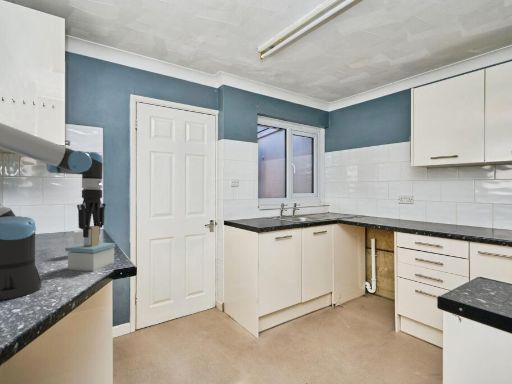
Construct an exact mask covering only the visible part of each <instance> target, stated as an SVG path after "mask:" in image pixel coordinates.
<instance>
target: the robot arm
mask: <svg viewBox="0 0 512 384" xmlns="http://www.w3.org/2000/svg"><path fill="white" fill-rule="evenodd" d="M0 149H1V150H4V151H7V152H10V153H13V154H16V155H19V156H22V157H25V158H29V159H32V160H35V161H38V162H41V163H45V165H46V166H45V167H46V170H47V172H48V173H51V174H58V175H59V174H60V175H61V174H63V175H64V174H65V175H67V174H68V175H81V188H82V190H81V198H82V199H83V200H82V203H81V204H77V205H76V207H77V212H78V216H77V217H78V219H77V220H78V221H77V222H78V229H80V230H83V237H84V245H91V229H89V228H90V226H91V221H92V222H93V226H99V236H100V234H101V228H102V229H103V226H104V225H105V209H106V203H102V201H101V199H102V198H103V190H102V188H103V171H104V170H103V169H104V168H103V165H104V162H103V155H102V154H101V153H100V152H94V151H82V150H73V149H71V148H68V147H66V146H63V145H61V144H58V143H55V142H52V141H49V140H47V139H45V138H42V137H40V136H37V135H33V134H31V133H30V132H29V133H28V132H25V131H23V130H21V129H18V128H15V127H12V126H9V125H6V124H5V123H2V122H0ZM36 231H37V226H36V221H35V220H34V219H33V218H31V217H27V216H16V214H15V213H14V212H13V210H12V208H10V207H8V206H7V207H6V206H3V205H2V204H1V203H0V301H2V300H3V301H4V300H10V299H15V298H21V297H23V296H26V295H30V294H33V293H35V292H37V291H39V290H40V289H41V288H42V282H43V281H42V278H41V277H40V273H39V271H38V269H37V266H36Z"/></svg>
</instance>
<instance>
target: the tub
mask: <svg viewBox="0 0 512 384" xmlns="http://www.w3.org/2000/svg"><path fill="white" fill-rule="evenodd" d="M114 264H115V247H113V248H109V249H106V250H103V251H99V252H96V253H80V252H68V251H67V270H69V271H70V270H72V271H84V272H96V271H98V270H100V269H103V268H107V267H108V266H112V265H114Z"/></svg>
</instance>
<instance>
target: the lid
mask: <svg viewBox="0 0 512 384" xmlns="http://www.w3.org/2000/svg"><path fill="white" fill-rule="evenodd" d="M89 229H91V245H84V244H79V245H75V246H74V245H71V246H68V247H66V246H65V250H64V251H65V252H67V253H68V252H80V253H96V252H99V251H103V250H106V249H109V248H115V247H116V246H117V245H116V243H115V242H100V235H99V226H94V225H90V228H89Z"/></svg>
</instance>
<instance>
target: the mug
mask: <svg viewBox="0 0 512 384" xmlns="http://www.w3.org/2000/svg"><path fill="white" fill-rule="evenodd" d="M71 237H73V246H75V245H79V244H84V237H83V229H80V230H79V229H78V230H74V231H73V233H71V234H70V235H68V236H66V239H65V242H64V243H65V248H66V247H69V246H68V245H67V241H68V239H69V238H71Z"/></svg>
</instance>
